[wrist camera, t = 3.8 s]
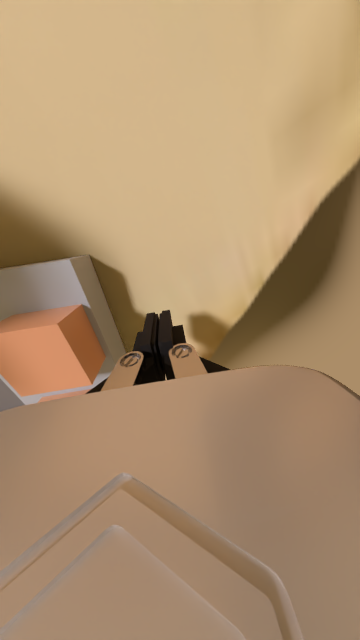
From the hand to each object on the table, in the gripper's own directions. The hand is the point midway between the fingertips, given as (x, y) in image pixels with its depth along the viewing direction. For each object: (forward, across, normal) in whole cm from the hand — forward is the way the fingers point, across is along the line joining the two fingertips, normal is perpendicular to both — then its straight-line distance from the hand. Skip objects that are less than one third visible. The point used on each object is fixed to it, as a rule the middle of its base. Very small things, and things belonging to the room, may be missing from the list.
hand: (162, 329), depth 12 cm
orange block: (+1, +8, 0) cm, 8 cm away
